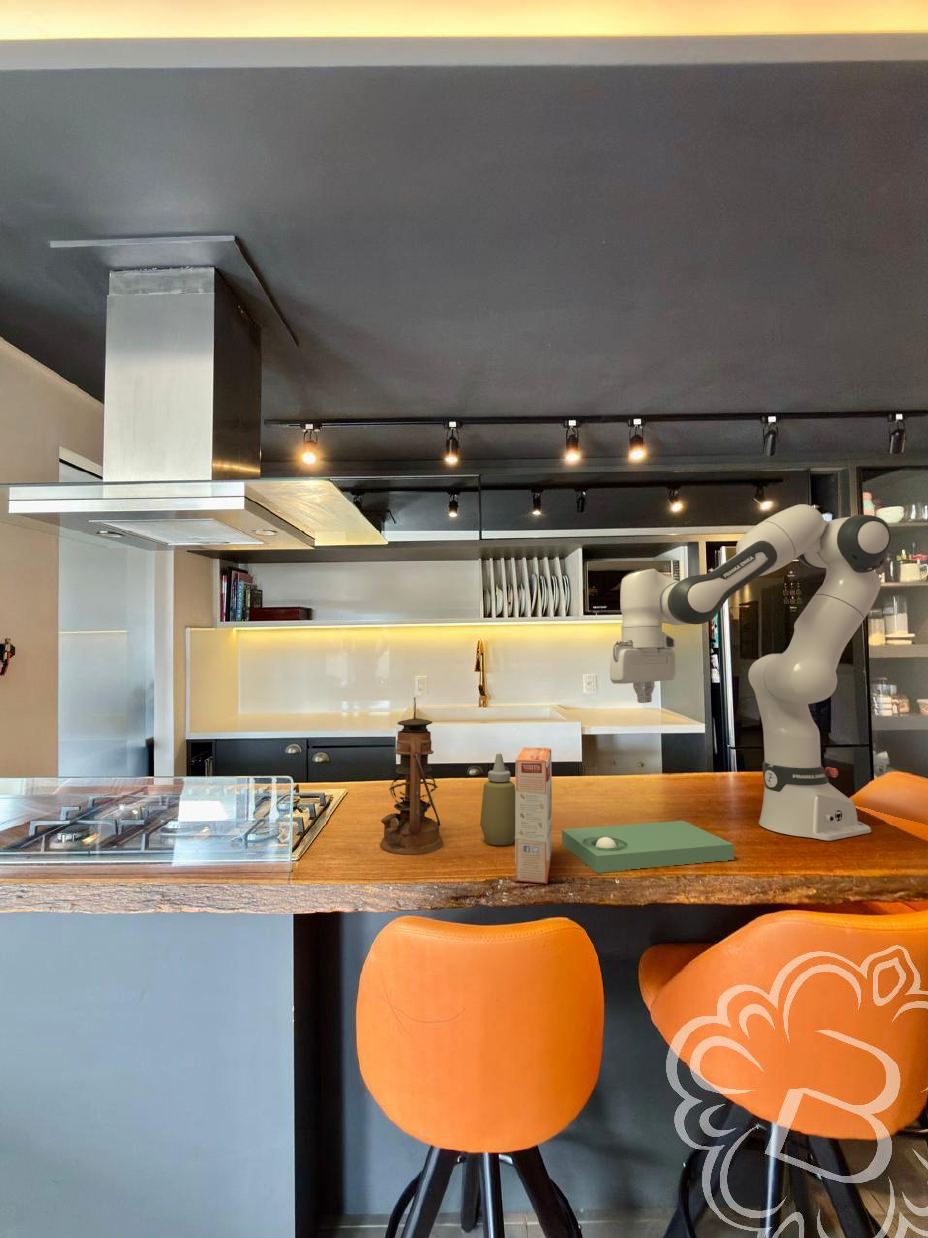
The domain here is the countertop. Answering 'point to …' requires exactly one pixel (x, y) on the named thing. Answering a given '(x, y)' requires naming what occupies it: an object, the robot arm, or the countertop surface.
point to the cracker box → (533, 815)
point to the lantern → (412, 794)
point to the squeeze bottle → (498, 806)
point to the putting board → (646, 846)
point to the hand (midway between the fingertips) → (644, 702)
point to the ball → (606, 843)
